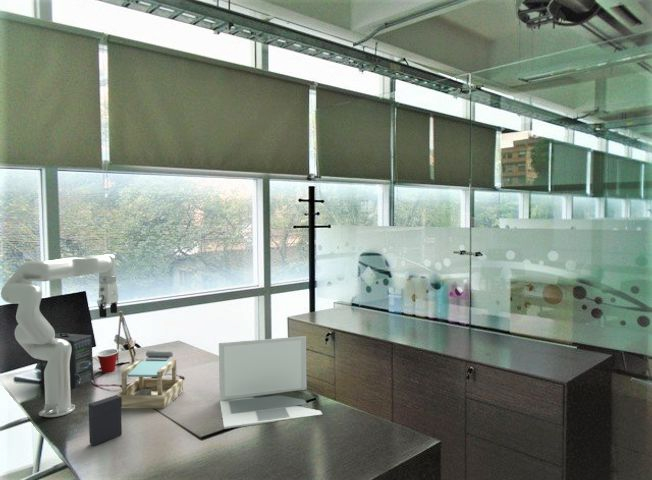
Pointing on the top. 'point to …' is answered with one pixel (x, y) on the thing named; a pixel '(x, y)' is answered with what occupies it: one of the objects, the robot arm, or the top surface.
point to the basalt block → (143, 392)
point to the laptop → (262, 380)
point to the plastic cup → (107, 360)
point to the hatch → (151, 364)
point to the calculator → (105, 419)
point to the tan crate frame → (160, 388)
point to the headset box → (77, 359)
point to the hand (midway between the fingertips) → (108, 314)
